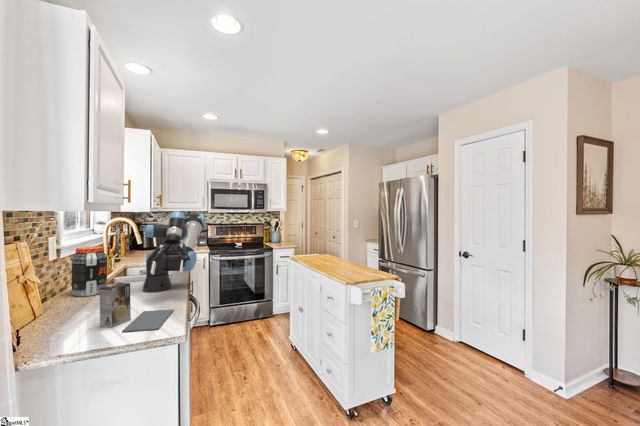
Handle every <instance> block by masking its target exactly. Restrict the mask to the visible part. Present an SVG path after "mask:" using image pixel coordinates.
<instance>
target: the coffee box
mask: <svg viewBox="0 0 640 426" xmlns="http://www.w3.org/2000/svg"><path fill="white" fill-rule="evenodd" d="M131 317H132V316H131V283H129V282H117V283H112V284H107V286H105V287H101V288H100V294H99V326H100V327H104V328H105V327H106V328H114V327H116V326H119V325H121V324H123V323H124V322H127V321H129V320H131Z"/></svg>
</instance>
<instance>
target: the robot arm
mask: <svg viewBox="0 0 640 426" xmlns="http://www.w3.org/2000/svg"><path fill="white" fill-rule="evenodd" d="M205 217H206V215H205V214H204V213H183V212H181V211H173V212H171V213H170V216H169V217H167V218H166V219H165V220H163V221H160V222H159V223H157V224H148V225H146V226H145V229H144V231H145V233H144V234H145V236H146V237H147V238H151V239H152V238H153V239H154V238H157V239H158V238H165V239H164V243H163V244H160V243H158V244H157V245H156V248H155V249H154V250H152V251H149V252H147V253H146V257H145V269H146V270H145V272H146V273H145V274H146V277H145V280H144V283H143V285H142V291H143V292H146V293H157V292H163V291H167V290H171V288H172V281H171V278H170V276H169V275H170V274H169V272H179V274H180V275H181V274H183V272H187V271H191V270H193V269H194V268H195V266H196V265H197V258H198V257H197V256H198V255H197V252H196V251H195V250H194V249H195V246H196V242H197V240H198V236H199V234H200V233H201V232H202V231H203V230H206V218H205Z"/></svg>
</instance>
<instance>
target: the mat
mask: <svg viewBox="0 0 640 426" xmlns="http://www.w3.org/2000/svg"><path fill="white" fill-rule="evenodd" d="M174 311H175V310H174V308H173V309H159V310H143V311H142V312H141V313H140V314H139V315H138V316H137V317H136V318H134V319H133V320H132V321H131V322H130V323H129V324H128V325H127V326H126V327H124V329H122V330H121V332H122V333H133V332H146V331H158V330H160V328H162V326H163V325H164V323H165V322H166V321H167V320H168V319H169V317H170V316H171V315H172V313H174Z"/></svg>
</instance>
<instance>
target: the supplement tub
mask: <svg viewBox="0 0 640 426" xmlns="http://www.w3.org/2000/svg"><path fill="white" fill-rule="evenodd" d="M104 251H105V249H104V246H100V245H99V246H98V245H97V246H95V245H94V246H82V247H76V248H75V254H74V255H73V257H72V258H71V294H72V295H73V296H75V297H88V296H89V297H90V296H95V295H100V288H101V287H105V286H108V255H107V254H106V253H105V252H104Z"/></svg>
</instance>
